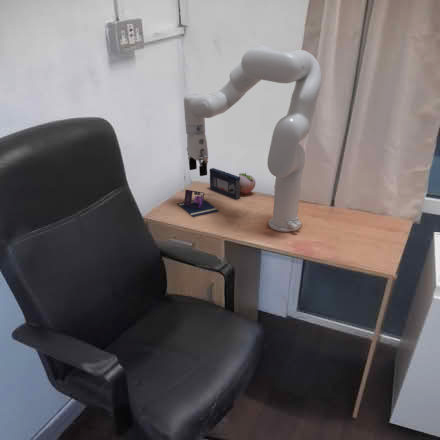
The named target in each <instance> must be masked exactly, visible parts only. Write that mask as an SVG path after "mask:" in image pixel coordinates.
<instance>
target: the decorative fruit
mask: <svg viewBox="0 0 440 440" xmlns="http://www.w3.org/2000/svg"><path fill="white" fill-rule="evenodd" d="M238 177H240V193H243V194H245V195H246V194H249V193H251V192H252V191H253V190H254V189H255V187H256V179H255V178H254V177H253V176H252V175H249V174H247V172H245V173H244V172H241V173H240V172H239V174H238Z"/></svg>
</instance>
